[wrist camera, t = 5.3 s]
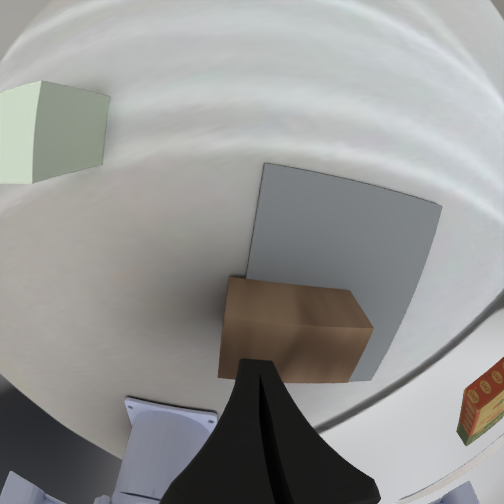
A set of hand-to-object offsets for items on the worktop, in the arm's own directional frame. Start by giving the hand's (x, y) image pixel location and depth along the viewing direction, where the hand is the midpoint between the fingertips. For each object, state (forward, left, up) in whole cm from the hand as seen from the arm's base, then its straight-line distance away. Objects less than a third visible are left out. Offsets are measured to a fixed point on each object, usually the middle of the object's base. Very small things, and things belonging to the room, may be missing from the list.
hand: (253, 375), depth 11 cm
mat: (+1, -5, -6) cm, 8 cm away
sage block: (+9, +11, -6) cm, 15 cm away
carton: (-14, -35, -6) cm, 39 cm away
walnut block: (0, +1, -3) cm, 4 cm away
